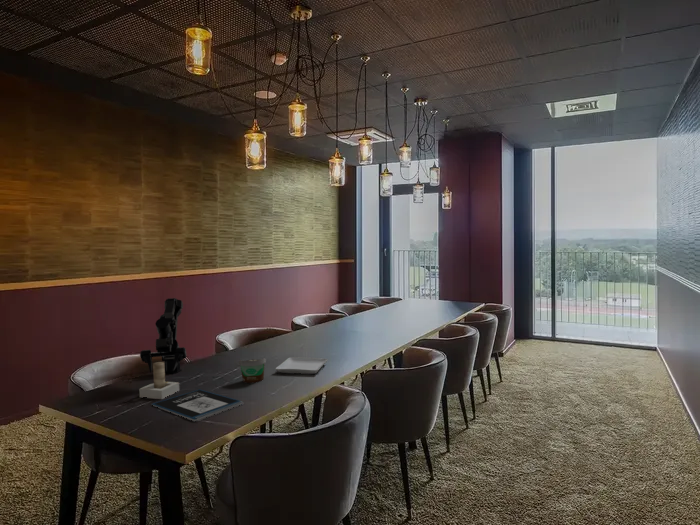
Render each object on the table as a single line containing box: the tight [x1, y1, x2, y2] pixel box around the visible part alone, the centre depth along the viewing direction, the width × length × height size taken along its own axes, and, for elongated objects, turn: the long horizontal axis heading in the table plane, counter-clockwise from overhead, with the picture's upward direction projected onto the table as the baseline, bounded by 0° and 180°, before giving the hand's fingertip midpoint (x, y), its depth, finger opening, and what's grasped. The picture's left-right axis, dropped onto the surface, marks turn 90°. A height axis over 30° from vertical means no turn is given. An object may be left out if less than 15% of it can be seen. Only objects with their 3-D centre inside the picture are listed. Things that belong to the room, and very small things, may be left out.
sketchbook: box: [151, 388, 244, 423], centre depth 180 cm, size 22×30×2 cm
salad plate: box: [275, 356, 329, 375], centre depth 227 cm, size 21×21×3 cm
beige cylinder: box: [152, 361, 166, 389], centre depth 194 cm, size 4×4×13 cm
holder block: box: [138, 381, 180, 400], centre depth 194 cm, size 11×11×4 cm
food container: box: [238, 357, 267, 384], centre depth 208 cm, size 12×6×10 cm, turn 105°
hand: (162, 371), depth 201 cm, fingers open, 9 cm apart
